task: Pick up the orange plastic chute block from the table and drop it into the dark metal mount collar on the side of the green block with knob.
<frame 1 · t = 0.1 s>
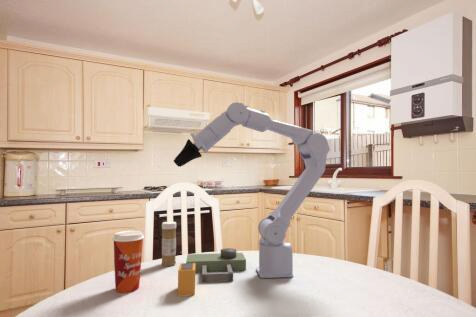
hand: (176, 164, 84), 32 cm above the table, tool tilted 50°, fingers open, 7 cm apart
sprinkles bottle: (168, 265, 94), on the table
paper cup: (127, 289, 74), on the table
chute block: (186, 290, 73), on the table
green block with knob: (215, 266, 92), on the table
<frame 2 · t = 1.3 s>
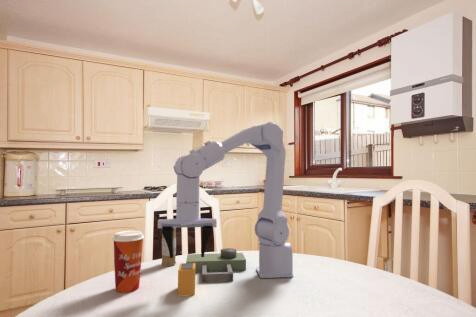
hand: (187, 256, 74), 8 cm above the table, tool pointing down, fingers open, 7 cm apart
nothing on the table moved.
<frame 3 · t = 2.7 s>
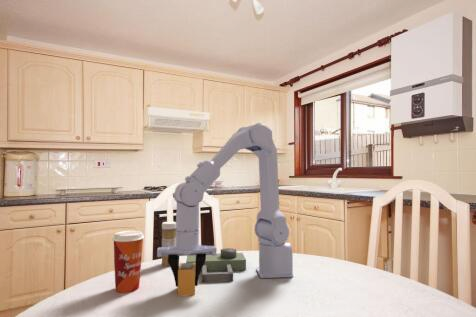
hand: (186, 284, 73), 1 cm above the table, tool pointing down, fingers closed on chute block, 4 cm apart
chute block: (186, 290, 73), on the table, touching gripper
everything else where it was.
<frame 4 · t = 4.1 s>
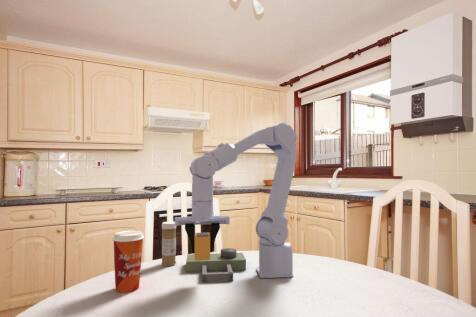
hand: (202, 251, 79), 8 cm above the table, tool pointing down, fingers closed on chute block, 4 cm apart
chute block: (202, 257, 78), point 7 cm above the table, touching gripper
everything else where it was.
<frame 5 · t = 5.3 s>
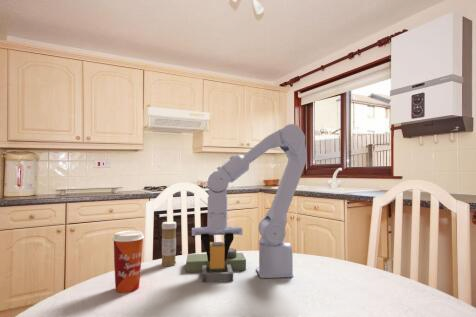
hand: (216, 260, 84), 4 cm above the table, tool pointing down, fingers closed on chute block, 4 cm apart
chute block: (216, 265, 84), point 3 cm above the table, touching gripper
everything else where it was.
when the fingers open (3 cm above the table, at t = 6.0 s): chute block drops 2 cm, resting in green block with knob.
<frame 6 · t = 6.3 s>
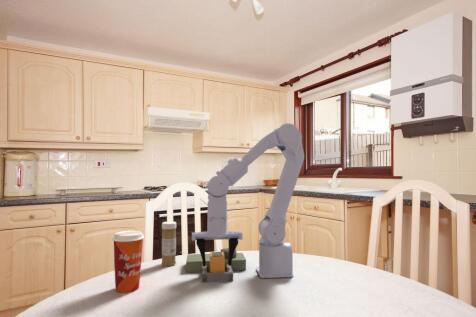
hand: (217, 264, 84), 3 cm above the table, tool pointing down, fingers open, 7 cm apart
chute block: (216, 275, 84), resting in green block with knob
everything else where it was.
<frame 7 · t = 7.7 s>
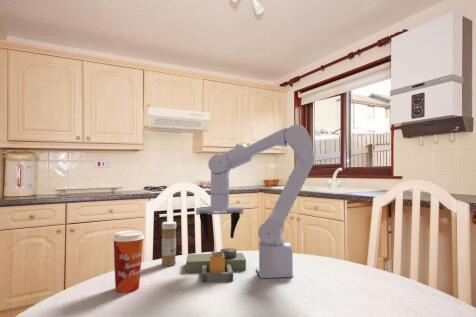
hand: (219, 237, 91), 9 cm above the table, tool pointing down, fingers open, 7 cm apart
nothing on the table moved.
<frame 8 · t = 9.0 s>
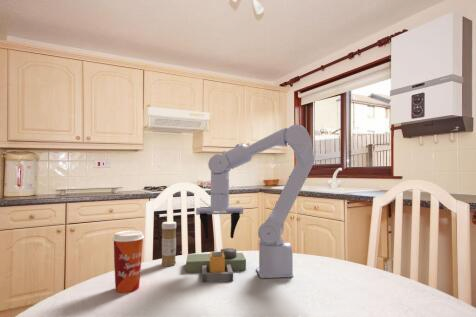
hand: (219, 237, 91), 9 cm above the table, tool pointing down, fingers open, 7 cm apart
nothing on the table moved.
at the end: chute block 0.1 cm from the target spot on the green block with knob, point 0.0 cm above the green block with knob's base; chute block tilted 0°; the gripper is holding nothing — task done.
